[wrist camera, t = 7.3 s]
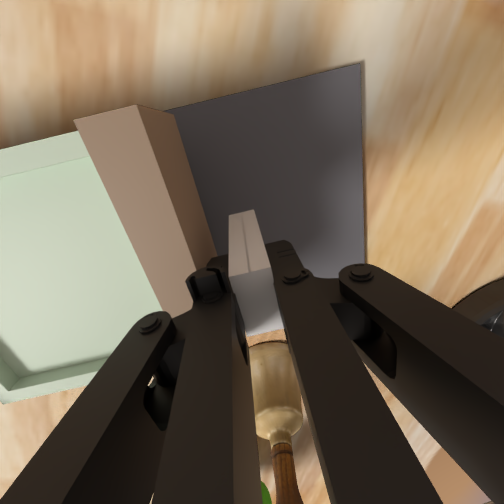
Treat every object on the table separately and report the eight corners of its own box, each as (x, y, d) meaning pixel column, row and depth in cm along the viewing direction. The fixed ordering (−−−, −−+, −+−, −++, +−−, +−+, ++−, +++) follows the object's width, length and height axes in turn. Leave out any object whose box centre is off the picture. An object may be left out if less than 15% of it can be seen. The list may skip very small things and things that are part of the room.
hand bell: (263, 407, 29) (298, 681, 15) (211, 372, 26) (191, 675, 11) (323, 370, 27) (431, 641, 13) (275, 327, 24) (347, 621, 10)
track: (357, 64, 15) (389, 48, 12) (362, 272, 22) (384, 295, 19) (-122, 181, 16) (-205, 193, 13) (23, 350, 23) (-9, 385, 20)
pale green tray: (181, 116, 15) (136, 104, 8) (236, 301, 22) (241, 394, 14) (-74, 178, 16) (-354, 224, 8) (53, 343, 22) (-40, 456, 14)
